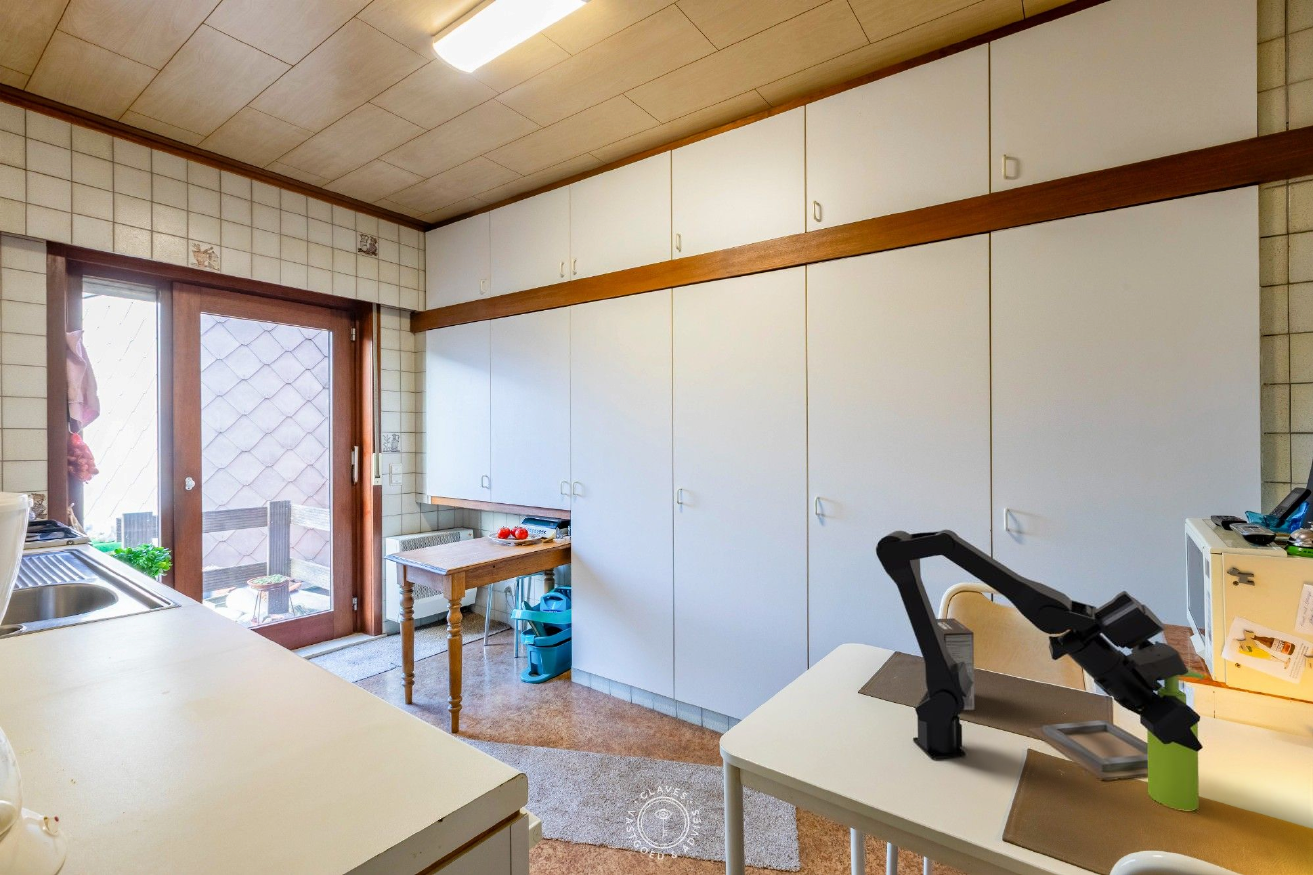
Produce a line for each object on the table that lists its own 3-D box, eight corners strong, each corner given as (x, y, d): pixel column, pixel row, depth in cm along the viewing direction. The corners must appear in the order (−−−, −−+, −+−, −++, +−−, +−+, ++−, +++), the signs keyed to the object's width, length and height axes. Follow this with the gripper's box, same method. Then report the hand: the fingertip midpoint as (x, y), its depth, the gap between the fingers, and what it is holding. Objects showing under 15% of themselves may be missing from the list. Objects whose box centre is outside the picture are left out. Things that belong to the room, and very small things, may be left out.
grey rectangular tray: (1101, 780, 97) (1101, 770, 97) (1029, 731, 113) (1029, 722, 113) (1190, 771, 98) (1189, 761, 98) (1106, 724, 114) (1106, 715, 114)
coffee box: (925, 691, 130) (923, 618, 130) (954, 690, 130) (953, 617, 130) (944, 711, 121) (943, 632, 121) (976, 710, 121) (975, 631, 121)
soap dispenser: (1216, 814, 88) (1215, 679, 88) (1162, 809, 89) (1161, 676, 89) (1190, 790, 94) (1188, 663, 93) (1139, 786, 95) (1138, 661, 95)
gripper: (1182, 649, 83) (1279, 736, 80) (1113, 609, 101) (1191, 678, 99) (1117, 701, 85) (1210, 787, 82) (1061, 652, 103) (1136, 721, 101)
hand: (1186, 738), depth 91 cm, fingers closed on soap dispenser, 6 cm apart
